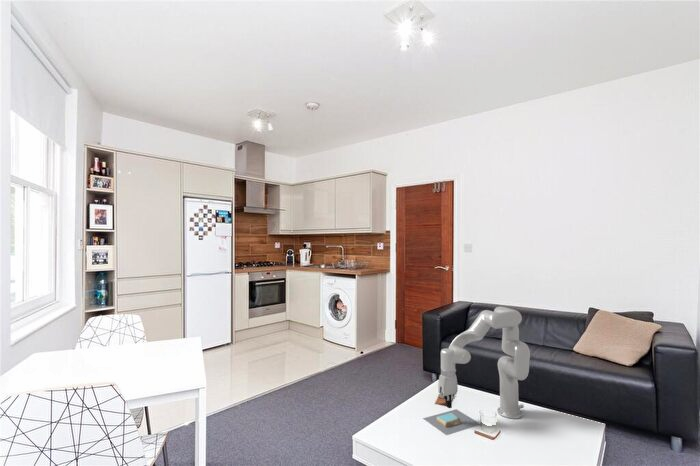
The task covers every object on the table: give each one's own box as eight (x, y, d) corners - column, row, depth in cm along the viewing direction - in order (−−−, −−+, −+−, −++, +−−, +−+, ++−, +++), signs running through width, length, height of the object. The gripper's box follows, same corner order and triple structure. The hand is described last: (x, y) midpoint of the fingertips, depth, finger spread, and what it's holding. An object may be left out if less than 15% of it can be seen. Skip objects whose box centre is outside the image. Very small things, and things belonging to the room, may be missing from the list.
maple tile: (450, 412, 194) (436, 416, 189) (460, 418, 187) (445, 422, 183) (451, 417, 193) (436, 421, 189) (460, 423, 187) (445, 427, 183)
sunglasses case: (438, 393, 226) (443, 385, 225) (448, 400, 223) (453, 392, 222) (433, 405, 209) (439, 396, 208) (444, 413, 207) (450, 404, 206)
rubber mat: (456, 410, 203) (456, 409, 203) (481, 425, 186) (481, 424, 186) (422, 419, 192) (422, 418, 192) (446, 436, 175) (446, 435, 175)
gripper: (453, 368, 196) (454, 401, 195) (432, 372, 189) (433, 407, 189) (463, 372, 189) (464, 407, 188) (441, 377, 182) (442, 413, 182)
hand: (448, 407), depth 189 cm, fingers closed
